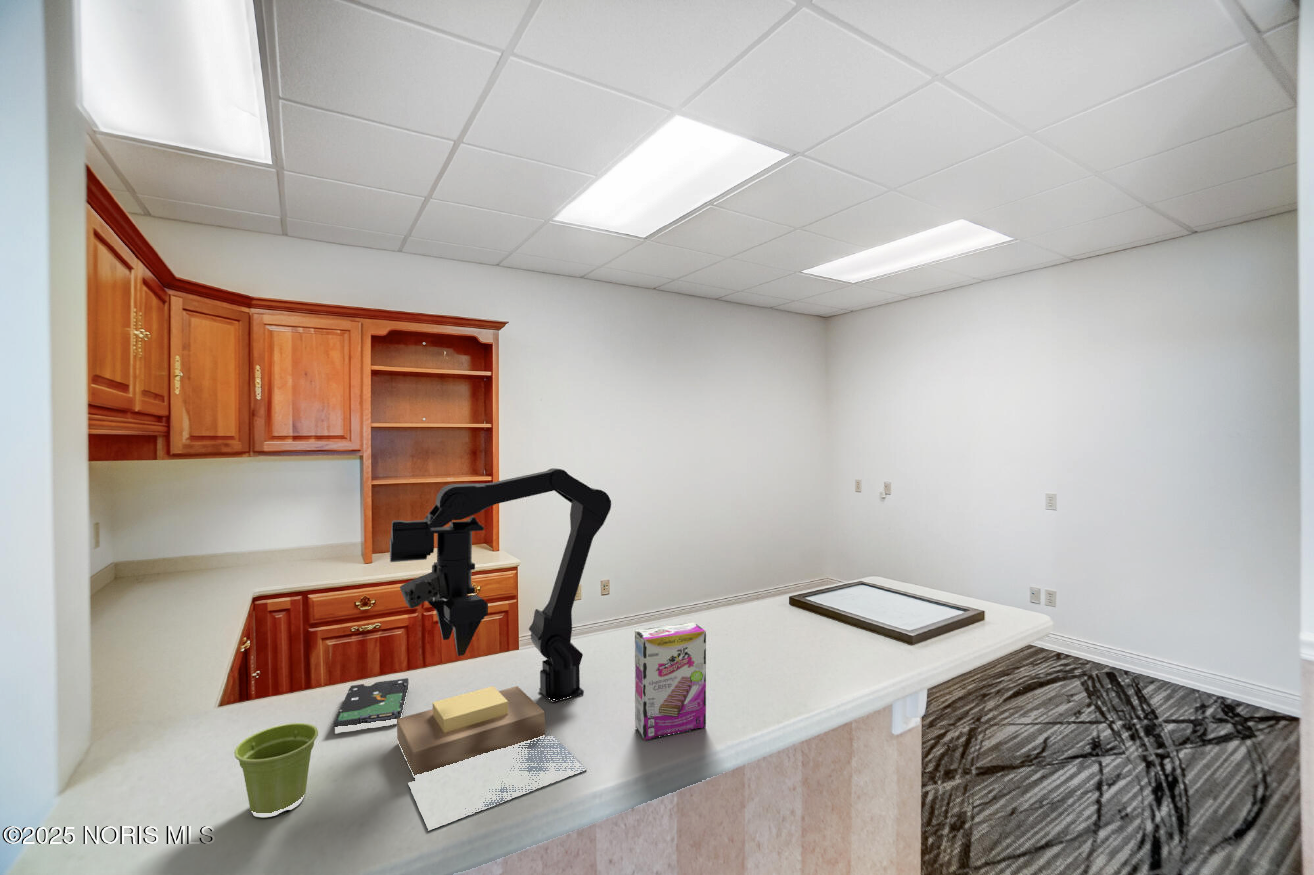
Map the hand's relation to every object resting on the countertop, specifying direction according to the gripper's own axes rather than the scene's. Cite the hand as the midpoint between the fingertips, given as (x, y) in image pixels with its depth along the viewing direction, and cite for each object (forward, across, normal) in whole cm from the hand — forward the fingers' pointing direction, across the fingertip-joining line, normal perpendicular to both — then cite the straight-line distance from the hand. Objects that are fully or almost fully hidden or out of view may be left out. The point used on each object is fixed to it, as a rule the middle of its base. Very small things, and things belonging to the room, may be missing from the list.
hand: (453, 647), depth 101 cm
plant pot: (+13, +10, -26) cm, 31 cm away
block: (+8, +9, 0) cm, 12 cm away
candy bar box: (+12, +26, +28) cm, 40 cm away
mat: (+12, +22, 0) cm, 25 cm away
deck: (+12, +10, 0) cm, 15 cm away
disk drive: (+13, -12, -10) cm, 20 cm away
